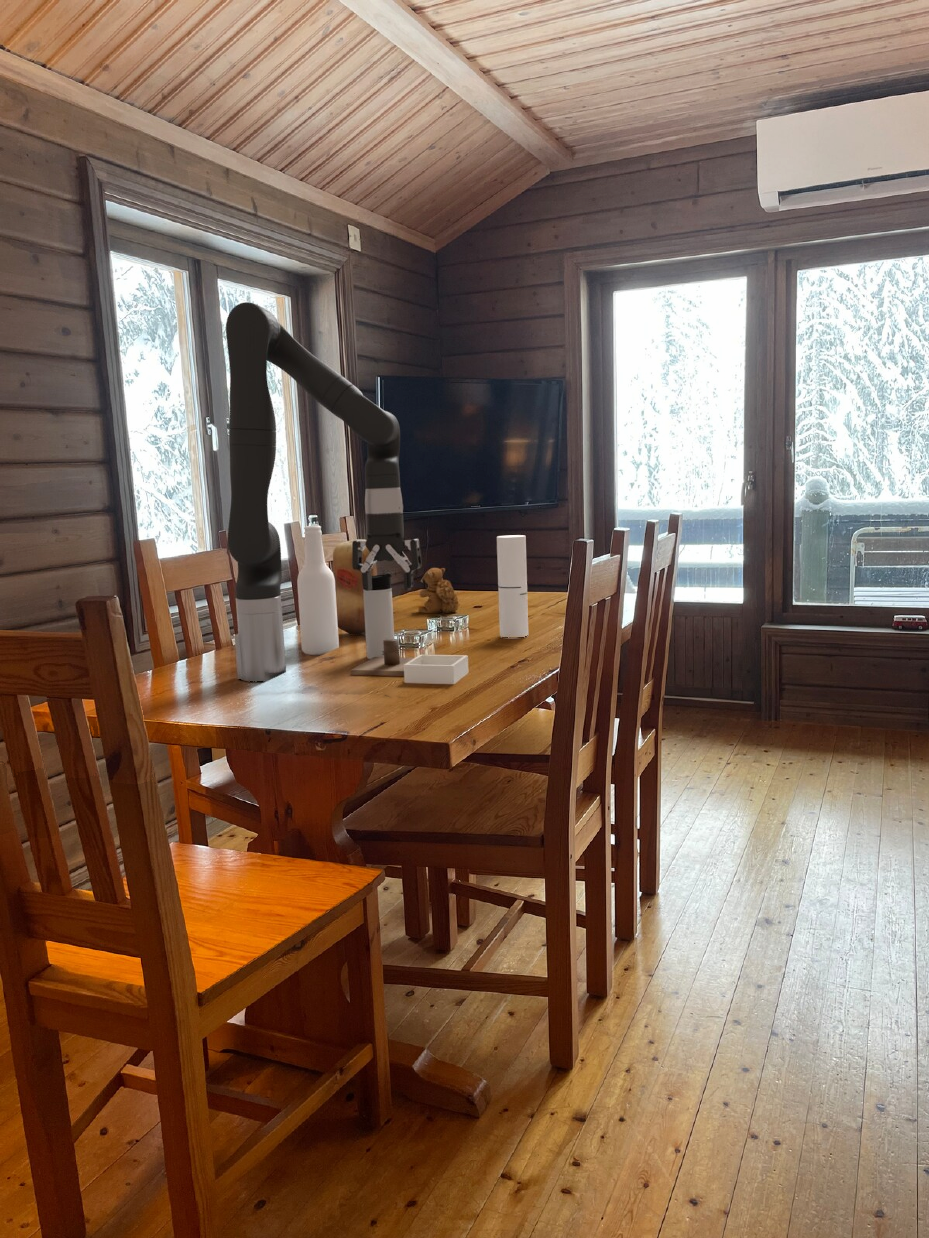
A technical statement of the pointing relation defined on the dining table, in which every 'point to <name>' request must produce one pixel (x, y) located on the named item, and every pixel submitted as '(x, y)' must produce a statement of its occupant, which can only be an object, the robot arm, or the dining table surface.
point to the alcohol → (317, 598)
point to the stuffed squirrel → (438, 593)
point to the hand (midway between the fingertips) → (388, 590)
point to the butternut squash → (349, 589)
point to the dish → (436, 669)
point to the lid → (384, 662)
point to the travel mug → (378, 615)
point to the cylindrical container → (512, 585)
